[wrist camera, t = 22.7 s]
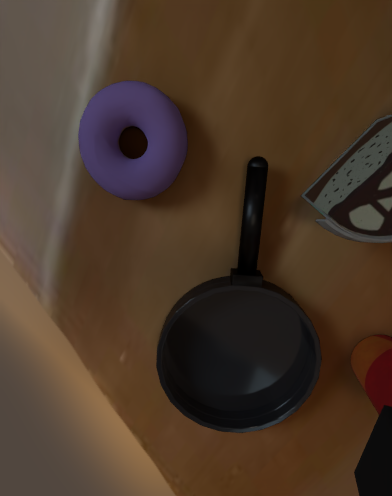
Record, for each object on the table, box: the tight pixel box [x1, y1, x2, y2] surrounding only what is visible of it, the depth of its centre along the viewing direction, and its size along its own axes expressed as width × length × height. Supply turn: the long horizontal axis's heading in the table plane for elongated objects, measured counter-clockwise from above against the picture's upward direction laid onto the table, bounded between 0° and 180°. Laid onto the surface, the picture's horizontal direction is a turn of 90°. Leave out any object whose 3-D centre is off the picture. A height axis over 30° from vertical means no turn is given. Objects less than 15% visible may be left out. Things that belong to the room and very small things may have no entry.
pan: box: [156, 276, 322, 433], centre depth 36 cm, size 16×16×3 cm
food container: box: [301, 115, 392, 243], centre depth 29 cm, size 12×6×10 cm, turn 137°
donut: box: [78, 81, 187, 200], centre depth 31 cm, size 10×9×5 cm
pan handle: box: [230, 156, 268, 288], centre depth 32 cm, size 12×3×2 cm, turn 176°
